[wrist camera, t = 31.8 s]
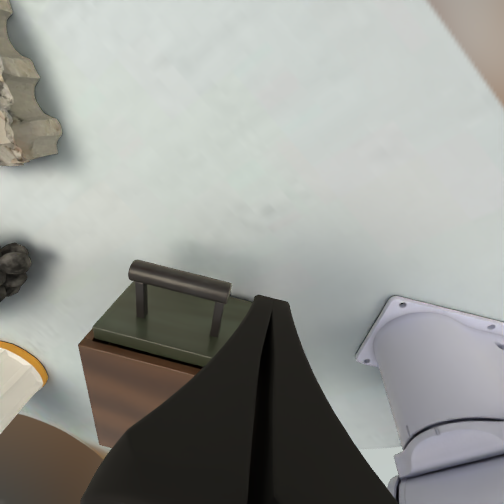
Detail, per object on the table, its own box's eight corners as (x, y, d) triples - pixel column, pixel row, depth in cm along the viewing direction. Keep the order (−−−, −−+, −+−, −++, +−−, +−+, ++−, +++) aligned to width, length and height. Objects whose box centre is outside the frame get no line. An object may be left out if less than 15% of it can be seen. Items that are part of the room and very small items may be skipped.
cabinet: (138, 276, 25) (77, 344, 18) (261, 307, 25) (246, 389, 18) (141, 370, 32) (99, 444, 25) (236, 396, 32) (219, 478, 25)
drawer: (138, 225, 21) (82, 270, 16) (268, 257, 21) (257, 314, 15) (142, 367, 31) (108, 426, 25) (233, 391, 30) (218, 456, 25)
